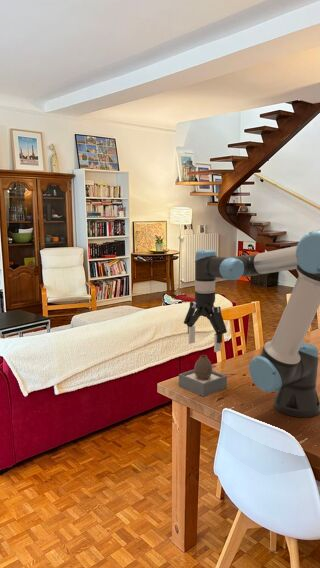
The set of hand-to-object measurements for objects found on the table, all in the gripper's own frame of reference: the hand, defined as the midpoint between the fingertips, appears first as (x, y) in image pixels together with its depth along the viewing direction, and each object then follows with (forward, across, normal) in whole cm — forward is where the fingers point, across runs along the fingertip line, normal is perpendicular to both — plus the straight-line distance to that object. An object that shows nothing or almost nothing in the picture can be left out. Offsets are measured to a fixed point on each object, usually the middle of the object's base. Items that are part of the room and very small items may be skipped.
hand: (204, 347), depth 164 cm
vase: (+12, 0, 0) cm, 13 cm away
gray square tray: (+16, 0, 0) cm, 16 cm away
